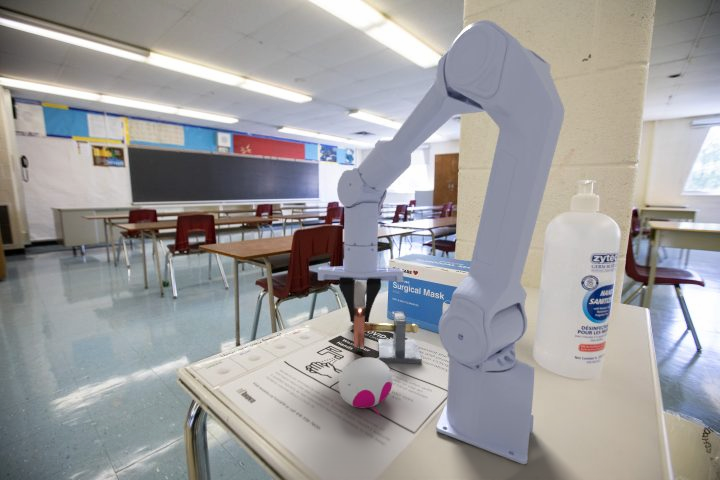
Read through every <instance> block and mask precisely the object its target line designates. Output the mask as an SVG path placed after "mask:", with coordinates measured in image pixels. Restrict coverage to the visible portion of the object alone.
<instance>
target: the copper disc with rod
mask: <svg viewBox="0 0 720 480" xmlns="http://www.w3.org/2000/svg"><path fill="white" fill-rule="evenodd" d="M395 328H396V324H394V323H377V322H375V323H373V322H365V308H364V307H355V312H354V324H353V347H354V348H365V337H366V332H373V333H374V332H380V333H382V332H383V333H393V332H395ZM418 332H419V325H418V324H416V323H412V324H411V323H406V333H413V334H417V333H418Z"/></svg>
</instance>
